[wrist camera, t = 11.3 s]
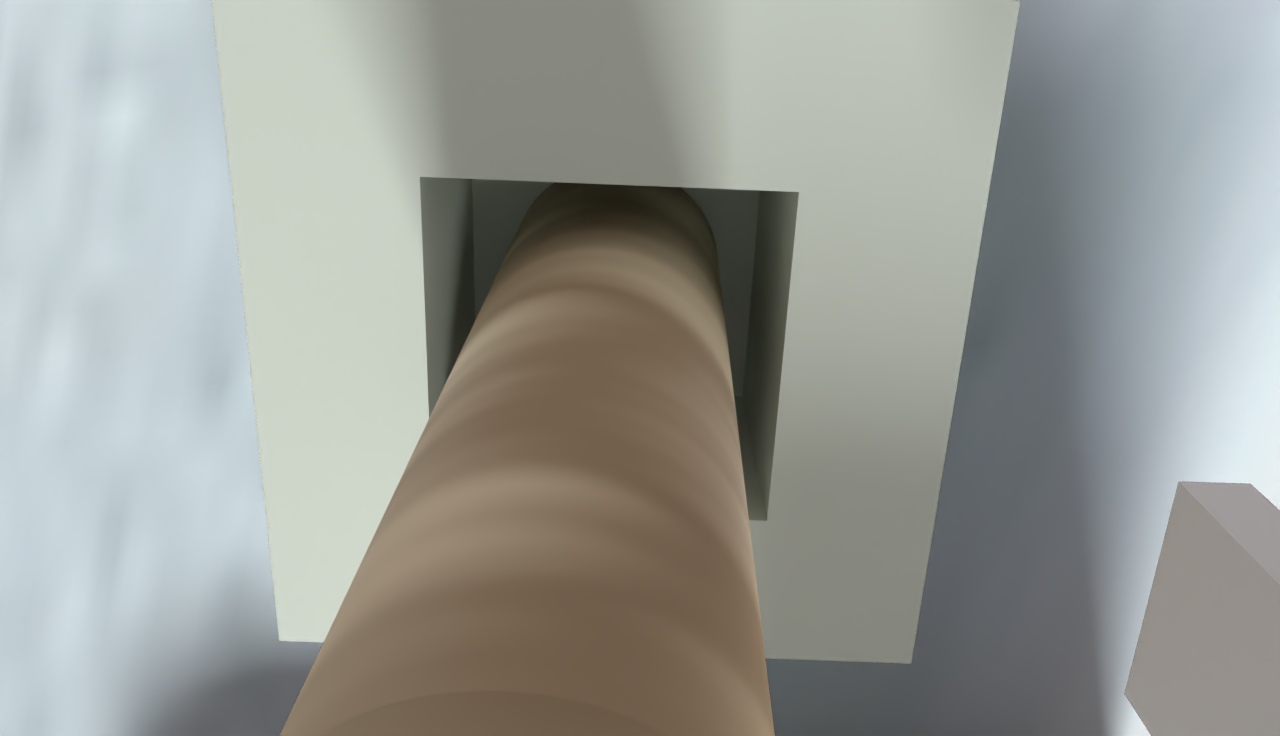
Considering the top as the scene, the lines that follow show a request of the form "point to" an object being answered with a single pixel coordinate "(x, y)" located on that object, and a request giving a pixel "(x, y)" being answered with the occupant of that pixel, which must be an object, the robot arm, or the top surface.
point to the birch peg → (567, 506)
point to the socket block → (621, 155)
